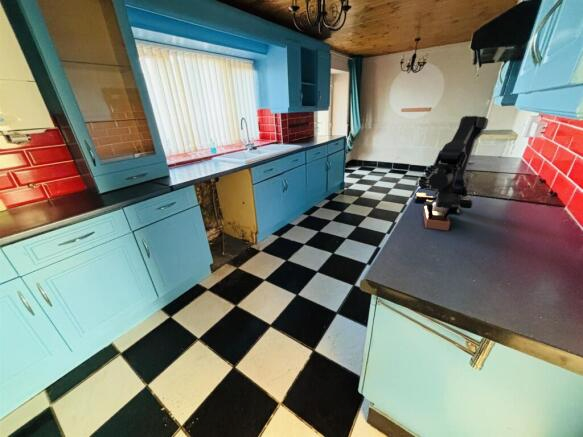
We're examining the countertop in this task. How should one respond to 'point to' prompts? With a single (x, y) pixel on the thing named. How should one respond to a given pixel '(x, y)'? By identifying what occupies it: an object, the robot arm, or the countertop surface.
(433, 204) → the egg
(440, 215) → the walnut block
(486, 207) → the countertop surface
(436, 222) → the tray
